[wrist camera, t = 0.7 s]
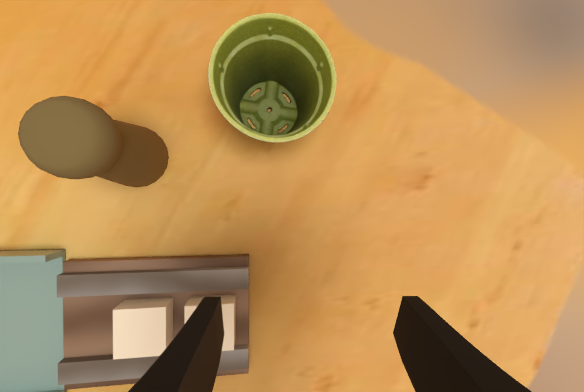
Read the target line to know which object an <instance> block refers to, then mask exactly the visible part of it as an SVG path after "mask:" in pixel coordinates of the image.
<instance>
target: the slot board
mask: <svg viewBox="0 0 584 392" xmlns="http://www.w3.org/2000/svg"><path fill="white" fill-rule="evenodd" d="M234 294H236V303H235V345H234V350H230V351H222V352H221V358H220V363H219V367H218V371H217V375H216V376H222V375H233V374H244V373H248V368H249V254H243V255H207V256H171V257H135V258H99V259H69V260H67V261H64V262H63V273H61V274H59V275H57V298H59V297H63V328H64V358H63V359H62V360H61V361H60V362H59V363H58V385H64V390H66V389H77V388H88V387H99V386H111V385H122V384H133V383H137V381H138V380H139V379H140V378H141V377H142V376H143V375H144V374H145V373H146V371H147V370H148V369H149V368H150V367H151V366H152V364H153V363H154V362H155V361H156V360H157V358H158V357H159V356H152V357H139V358H126V359H113V309H114V308H116V307H117V306H118V305H119V304H120V303H121V302H123V301H124V300H130V299H151V298H172V297H173V339H174V337H175V336H176V335H177V334H178V332H179V331H180V330H181V328H182V327H183V326H184V306H185V304H186V303H187V301H188V299H189V298H190V297H192V296H213V295H234Z"/></svg>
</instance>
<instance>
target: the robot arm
mask: <svg viewBox="0 0 584 392" xmlns="http://www.w3.org/2000/svg"><path fill="white" fill-rule="evenodd" d="M393 334H394V337H395V340H396V344H397V347H398V350H399V353H400V356H401V359H402V362H403V364H404V366H405V369H406V371H407V373H408V376H409V378H410V380H411V382H412V385H413V387H414V389H415V391H416V392H531V391H530V390H529V389H527V388H526V387H524V386H523V385H522V384H520V383H519V382H518V381H516V380H515V379H514V378H512V377H511V376H510V375H508V374H507V373H506V372H505V371H503V370H502V369H501V368H500V367H498V366H497V365H496V364H495V363H493V362H492V361H491V360H490V359H489V358H487V357H486V356H485V355H484V354H482V353H481V352H480V351H479V350H478V349H476V348H475V347H474V346H473V345H472V344H471V343H469V342H468V341H467V340H466V339H465V338H464V337H463V336H461V335H460V334H459V333H458V332H457V331H456V330H455V329H454V328H452V327H451V326H450V325H449V324H448V323H447V322H446V321H445V320H444V319H443V318H441V317H440V316H439V315H438V314H437V313H436V312H435V311H434V310H433V309H432V308H430V307H429V306H428V305H427V304H426V303H425V302H424V301H423V300H421V299H420V298H419V297H418V296H403V297H402V301H401V305H400V309H399V312H398V316H397V320H396V324H395V328H394V331H393ZM223 340H224V325H223V315H222V304H221V297H204V298H203V299H202V300H201V302H200V303H199V305H198V306H197V307H196V309H195V310H194V312H193V313H192V315H191V316H190V317H189V319H188V320H187V322H186V323H185V324H184V326H183V327H182V328H181V330H180V331H179V332H178V334H177V335H176V336H175V337H174V339H173V340H172V341H171V343H170V344H169V345H168V346H167V348H166V349H165V350H164V351H163V353H162V354H161V355H160V356H159V357H158V358H157V360H156V361H155V362H154V363H153V364H152V366H151V367H150V368H149V369H148V370H147V371H146V373H145V374H144V375H143V376H142V377H141V378H140V379H139V380H138V381H137V383H136V384H135V385H134V386H133V387H132V388H131V389H130V390H129V391H128V392H212V390H213V386H214V382H215V379H216V375H217V371H218V367H219V363H220V358H221V352H222V346H223Z"/></svg>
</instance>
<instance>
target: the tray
mask: <svg viewBox="0 0 584 392" xmlns="http://www.w3.org/2000/svg"><path fill="white" fill-rule="evenodd" d="M64 261H65V249H46V250H2V251H0V392H67V389H66V390H64V385H58V363H59V362H60V361H61V360H62V359H63V358H64V328H63V297H59V298H57V275H59V274H61V273H63V262H64Z"/></svg>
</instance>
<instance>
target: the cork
mask: <svg viewBox="0 0 584 392" xmlns="http://www.w3.org/2000/svg"><path fill="white" fill-rule="evenodd" d="M18 135H19V140H20V145H21V147H22V149H23V150H24V152H25V154H26V155H27V157H28V159H29V160H30V161H31V162H33V163H34V164H35V165H36V166H37V167H38V168H39V169H41V170H43V171H46V172H48V173H50V174H52V175H54V176H57V177H61V178H68V179H84V178H91V177H94V176H98V177H101V178H104V179H107V180H110V181H113V182H116V183H119V184H123V185H126V186H131V187H142V186H147V185H149V184H151V183H154V182H156V181H157V180H158V179H159V178H160V177H161V176H162V175H163V173H164V171H165V169H166V168H167V164H168V158H169V157H168V151H167V147H166V145H165V143H164V142H163V140H162V139H161V138H160V137H159V136H158V135H157V134H156V133H155V132H153V131H151V130H150V129H148V128H145V127H141V126H137V125H133V124H129V123H125V122H121V121H117V120H113V119H112V118H111V117H110V116H109V115H108V114H107V113H106V112H105V111H104V110H103V109H102V108H100V107H98V106H96V105H94V104H92V103H90V102H88V101H86V100H84V99H79V98H74V97H68V96H60V97H50V98H48V99H46V100H43V101H41V102H38V103H36V104H34V105H33V106H32V107H31V108H30V109H29V110H28V111H26V113H25V114H24V116H23V118H22V120H21V121H20V126H19V132H18Z"/></svg>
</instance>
